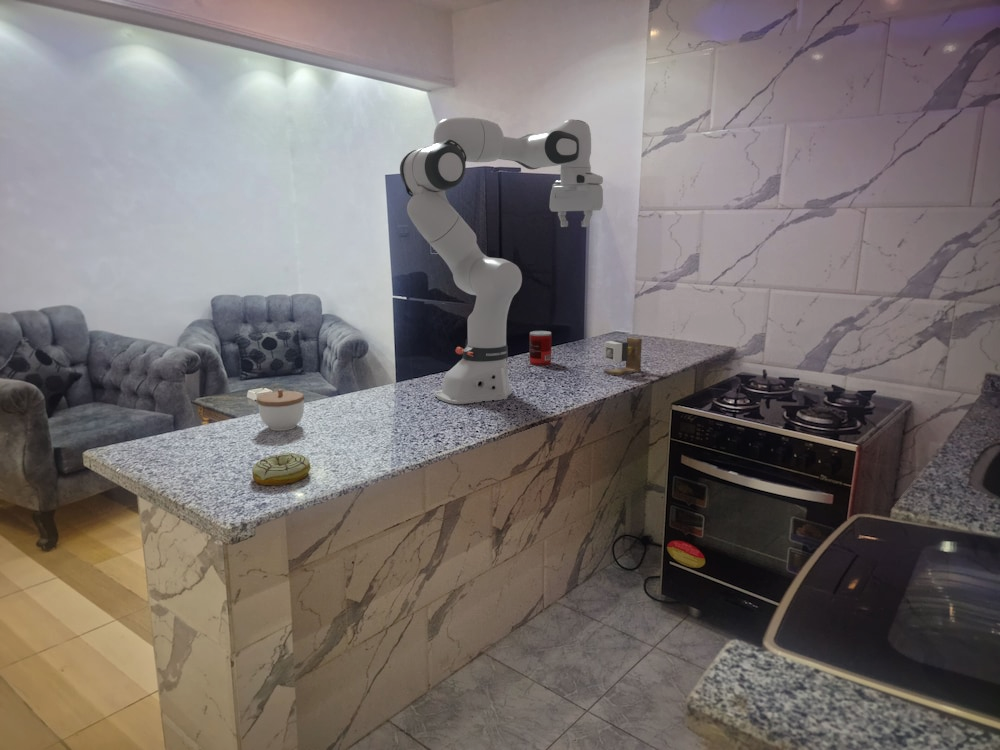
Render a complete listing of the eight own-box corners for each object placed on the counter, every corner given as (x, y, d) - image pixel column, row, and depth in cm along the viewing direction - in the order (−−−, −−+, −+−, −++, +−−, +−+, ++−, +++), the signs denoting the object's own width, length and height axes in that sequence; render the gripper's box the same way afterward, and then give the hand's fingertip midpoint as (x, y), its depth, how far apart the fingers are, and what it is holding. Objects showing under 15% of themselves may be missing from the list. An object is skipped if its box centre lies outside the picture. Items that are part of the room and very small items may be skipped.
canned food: (551, 361, 238) (551, 330, 235) (550, 365, 230) (551, 334, 227) (530, 360, 238) (530, 330, 236) (528, 365, 231) (529, 334, 228)
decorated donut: (247, 475, 131) (245, 457, 130) (301, 464, 136) (300, 447, 135) (260, 492, 122) (258, 473, 121) (317, 480, 128) (316, 461, 127)
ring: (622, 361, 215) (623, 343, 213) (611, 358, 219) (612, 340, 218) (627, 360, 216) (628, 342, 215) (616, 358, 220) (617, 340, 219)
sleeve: (614, 362, 213) (615, 344, 212) (603, 359, 217) (604, 341, 216) (621, 361, 215) (622, 343, 213) (610, 358, 219) (611, 341, 218)
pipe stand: (613, 375, 214) (615, 342, 212) (603, 373, 218) (604, 340, 216) (641, 371, 220) (642, 338, 218) (630, 368, 224) (631, 336, 222)
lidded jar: (315, 424, 163) (312, 387, 161) (281, 436, 154) (278, 397, 152) (284, 418, 168) (282, 382, 166) (250, 429, 159) (246, 391, 157)
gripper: (544, 180, 202) (544, 226, 205) (590, 176, 186) (589, 227, 189) (560, 181, 206) (560, 226, 209) (607, 177, 189) (605, 226, 192)
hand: (574, 226), depth 199 cm, fingers open, 8 cm apart
